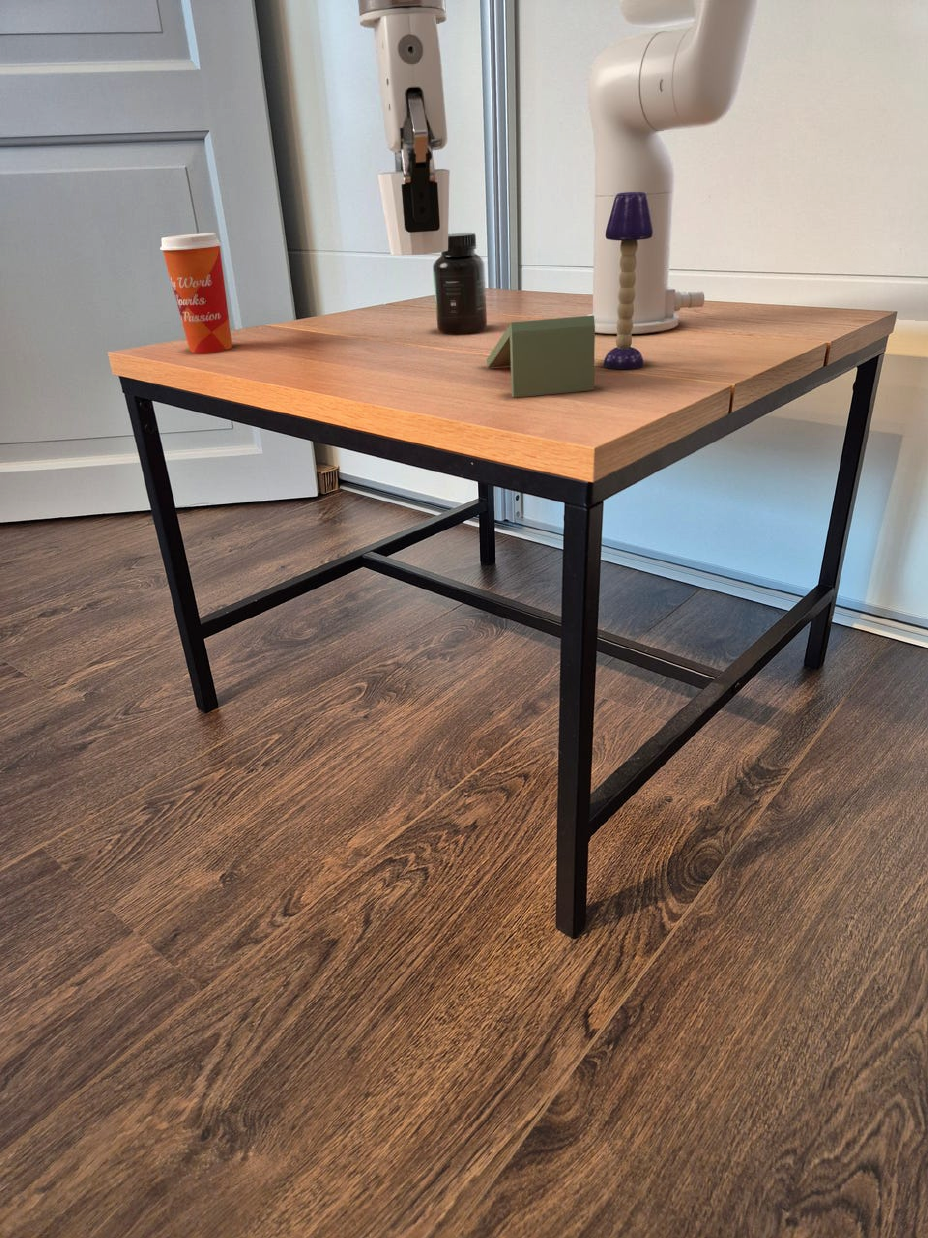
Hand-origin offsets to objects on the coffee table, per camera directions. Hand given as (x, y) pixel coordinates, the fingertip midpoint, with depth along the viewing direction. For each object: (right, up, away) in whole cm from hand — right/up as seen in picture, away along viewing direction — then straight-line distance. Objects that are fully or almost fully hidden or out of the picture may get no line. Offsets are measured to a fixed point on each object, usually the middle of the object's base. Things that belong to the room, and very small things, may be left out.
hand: (418, 227), depth 80 cm
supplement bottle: (+4, +2, +34) cm, 34 cm away
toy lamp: (+22, -11, +9) cm, 26 cm away
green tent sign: (+12, -13, +7) cm, 19 cm away
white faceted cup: (0, -2, +1) cm, 2 cm away
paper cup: (-30, -2, +32) cm, 44 cm away
